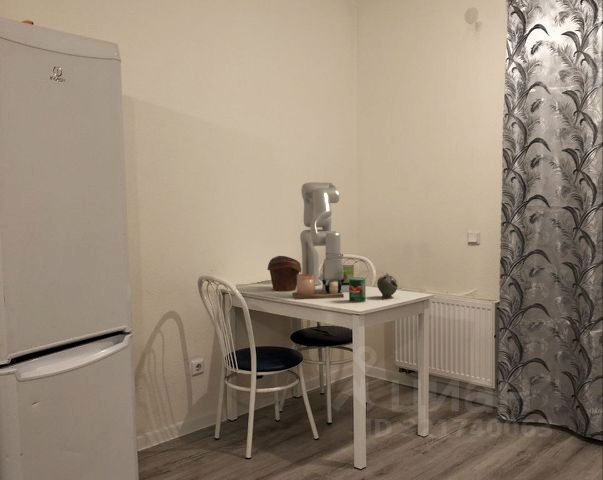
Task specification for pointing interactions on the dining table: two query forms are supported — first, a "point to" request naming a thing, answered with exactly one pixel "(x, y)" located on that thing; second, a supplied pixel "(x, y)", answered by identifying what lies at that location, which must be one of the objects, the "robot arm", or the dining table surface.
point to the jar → (305, 284)
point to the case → (284, 273)
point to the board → (318, 295)
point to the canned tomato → (357, 290)
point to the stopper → (333, 286)
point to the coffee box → (348, 271)
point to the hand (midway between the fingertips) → (333, 292)
